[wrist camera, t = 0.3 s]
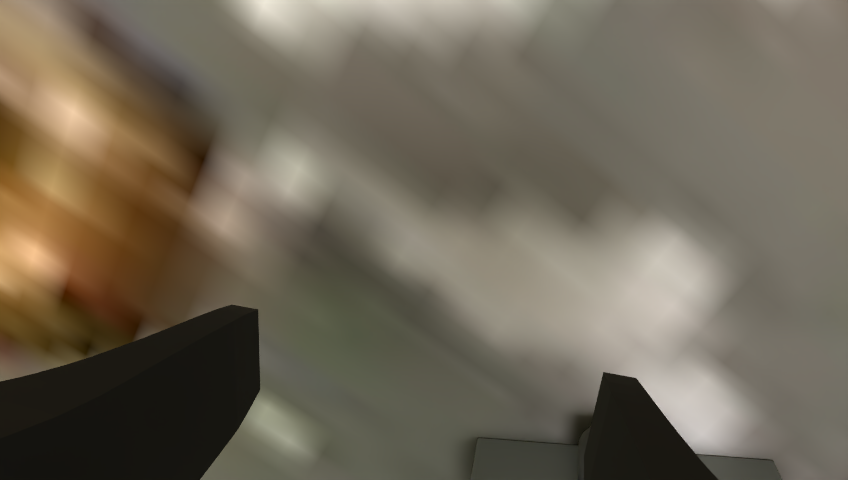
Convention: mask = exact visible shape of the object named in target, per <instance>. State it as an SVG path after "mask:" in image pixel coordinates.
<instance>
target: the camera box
mask: <svg viewBox="0 0 848 480" xmlns="http://www.w3.org/2000/svg"><path fill="white" fill-rule="evenodd" d="M590 428H591V427H590ZM590 428H588V429H587V430H586V431H584V432H583V434H582V435H581V437H580V439H579V446H577V445H564V444H551V443H538V442H526V441H513V440H500V439H487V438H478V439H477V445H476V451H475V456H474V462H473V468H472V473H471V479H470V480H584V453H585V449H586V445H587V441H588V436H589V432H590ZM697 456H698V457H699V459H700V460H701V461H702V462H703V463H704V464H705V465H706V467H707V468H708V469H709V470H710V471H711V472H712V473H713V474H714V475H715V476H716V477H717V478H718V480H782V478H781V476H780V474H779V472H778V470H777V468H776V466H775V464H774V462H773V461H772V460H759V459H746V458H733V457H720V456H707V455H697Z"/></svg>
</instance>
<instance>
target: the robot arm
mask: <svg viewBox="0 0 848 480" xmlns="http://www.w3.org/2000/svg"><path fill="white" fill-rule="evenodd" d="M259 391H260V366H259V327H258V309H252V308H247V307H241V306H236V305H230V306H226V307H223V308H220V309H217V310H214V311H211V312H208V313H206V314H203V315H201V316H198V317H195V318H193V319H190V320H188V321H185V322H183V323H180V324H178V325H175V326H173V327H170V328H168V329H165V330H163V331H160V332H158V333H155V334H153V335H150V336H148V337H145V338H143V339H140V340H137V341H134V342H132V343H129V344H126V345H123V346H120V347H118V348H115V349H112V350H109V351H107V352H104V353H101V354H98V355H95V356H93V357H90V358H86V359H83V360H80V361H77V362H74V363H70V364H67V365H64V366H60V367H57V368H53V369H50V370H46V371H42V372H39V373H35V374H31V375H27V376H23V377H19V378H14V379H10V380H5V381H1V382H0V480H200V479H201V477H202V476H203V475H204V473H205V472H206V471H207V470H208V468H209V467H210V466H211V464H212V463H213V462H214V460H215V459H216V458H217V456H218V455H219V454H220V452H221V451H222V450H223V449H224V447H225V446H226V445H227V443H228V442H229V441H230V439H231V438H232V436H233V435H234V434H235V432H236V431H237V430H238V428H239V426H240V425H241V423H242V421H243V420H244V418H245V416H246V415H247V413H248V411H249V409H250V407H251V406H252V404H253V402H254V400H255V398H256V396H257V394H258V393H259ZM584 480H718V478H717V477H716V476H715V475H714V474H713V473H712V472H711V471H710V470H709V469H708V468H707V467H706V465H705V464H704V463H703V462H702V461H701V460H700V459H699V457H698V456H697V455H696V454H695V453H694V452H693V450H692V449H691V448H690V447H689V446H688V444H687V443H686V442H685V441H684V440H683V438H682V437H681V436H680V435H679V433H678V432H677V431H676V430H675V428H674V427H673V426H672V425H671V423H670V422H669V421H668V419H667V418H666V417H665V416H664V414H663V413H662V412H661V410H660V409H659V408H658V406H657V405H656V404H655V402H654V401H653V400H652V398H651V397H650V396H649V394H648V393H647V392H646V390H645V389H644V388H643V386H642V385H641V384H640V383H639V381H638V380H637V379H636V378H632V377H627V376H621V375H616V374H610V373H605V372H603V376H602V381H601V385H600V389H599V394H598V398H597V402H596V406H595V411H594V415H593V419H592V423H591V428H590V432H589V436H588V441H587V445H586V449H585V453H584Z"/></svg>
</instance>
